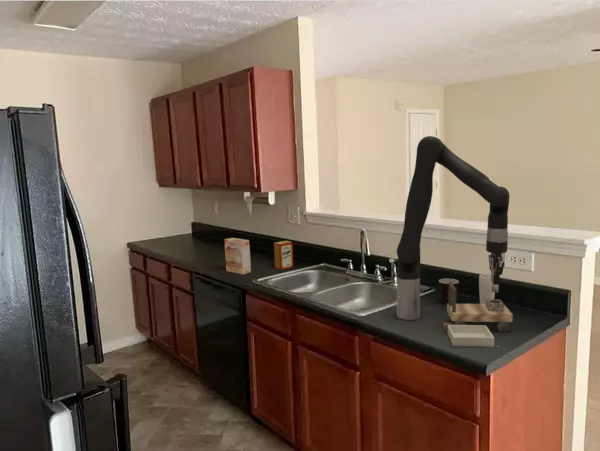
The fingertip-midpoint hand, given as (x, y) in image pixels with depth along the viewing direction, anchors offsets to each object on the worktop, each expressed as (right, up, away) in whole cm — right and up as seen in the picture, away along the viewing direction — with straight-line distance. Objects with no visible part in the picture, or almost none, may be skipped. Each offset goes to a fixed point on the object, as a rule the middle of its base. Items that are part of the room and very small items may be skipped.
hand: (495, 283), depth 186 cm
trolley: (-5, -18, +4) cm, 19 cm away
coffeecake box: (-112, -6, +102) cm, 152 cm away
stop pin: (0, -3, +1) cm, 3 cm away
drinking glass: (+5, -14, +22) cm, 27 cm away
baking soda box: (-85, -4, +107) cm, 137 cm away
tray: (-13, -20, -9) cm, 26 cm away
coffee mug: (-6, -13, +33) cm, 36 cm away
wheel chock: (-18, -19, 0) cm, 26 cm away
